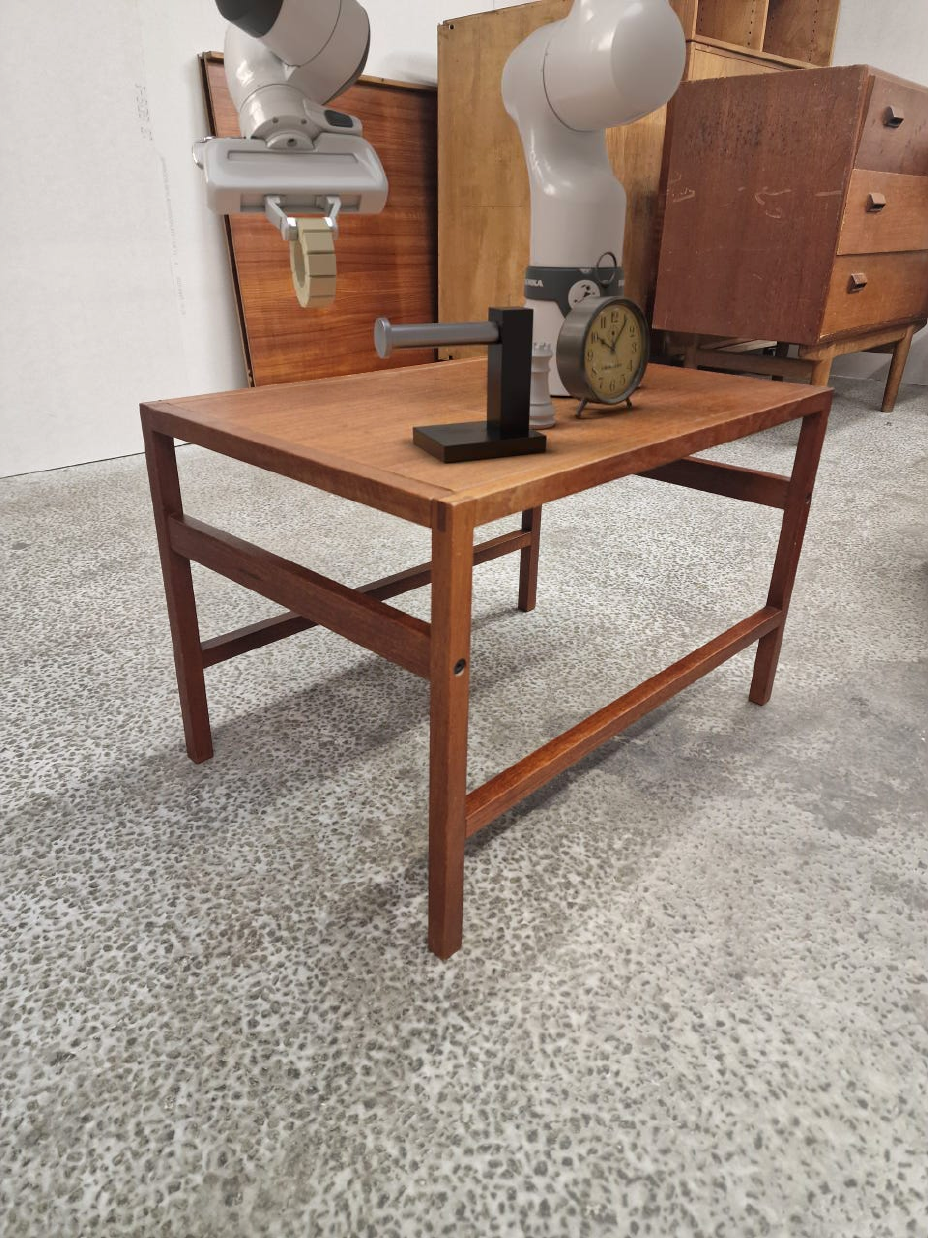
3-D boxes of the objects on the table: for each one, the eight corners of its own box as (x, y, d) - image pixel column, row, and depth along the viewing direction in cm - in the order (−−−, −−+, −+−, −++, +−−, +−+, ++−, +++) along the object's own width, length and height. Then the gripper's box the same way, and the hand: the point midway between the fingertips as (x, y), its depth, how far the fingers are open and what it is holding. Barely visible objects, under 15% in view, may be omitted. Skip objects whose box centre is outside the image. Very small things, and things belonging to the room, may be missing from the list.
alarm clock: (580, 422, 84) (591, 252, 77) (543, 414, 88) (551, 250, 81) (647, 409, 90) (663, 250, 83) (610, 401, 94) (622, 249, 87)
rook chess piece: (553, 420, 85) (557, 340, 81) (559, 429, 81) (563, 346, 77) (511, 420, 85) (513, 340, 81) (514, 429, 81) (517, 346, 77)
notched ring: (294, 303, 94) (286, 218, 90) (319, 302, 95) (312, 218, 91) (312, 310, 87) (304, 217, 83) (339, 309, 88) (333, 217, 84)
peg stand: (507, 433, 79) (510, 303, 74) (546, 452, 73) (553, 311, 67) (371, 446, 74) (364, 308, 69) (399, 468, 68) (394, 317, 62)
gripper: (187, 110, 84) (213, 213, 81) (373, 118, 92) (405, 212, 88) (189, 162, 90) (213, 260, 86) (364, 165, 97) (394, 256, 94)
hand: (312, 236), depth 87 cm, fingers closed on notched ring, 3 cm apart
